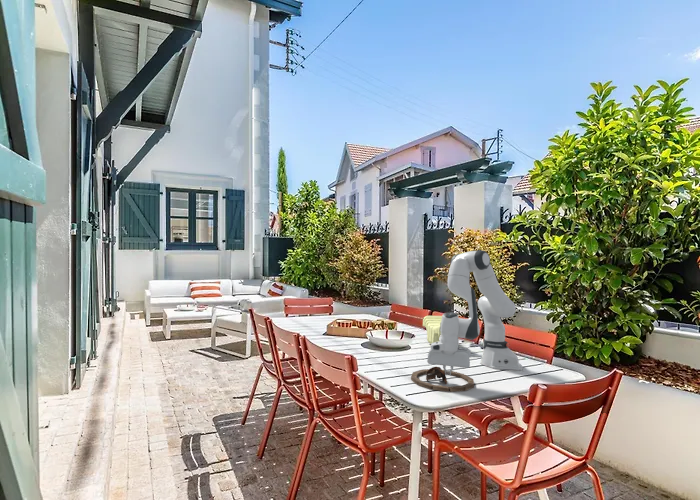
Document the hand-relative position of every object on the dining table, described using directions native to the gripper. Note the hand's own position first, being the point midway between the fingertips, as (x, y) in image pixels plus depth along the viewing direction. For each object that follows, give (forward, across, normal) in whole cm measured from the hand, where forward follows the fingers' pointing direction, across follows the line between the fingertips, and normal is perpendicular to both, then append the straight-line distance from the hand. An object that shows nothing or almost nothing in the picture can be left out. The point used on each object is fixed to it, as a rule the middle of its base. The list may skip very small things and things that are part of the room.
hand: (447, 374), depth 202 cm
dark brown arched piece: (+4, +5, +2) cm, 6 cm away
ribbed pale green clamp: (+4, +6, -79) cm, 79 cm away
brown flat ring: (+3, +3, 0) cm, 4 cm away
